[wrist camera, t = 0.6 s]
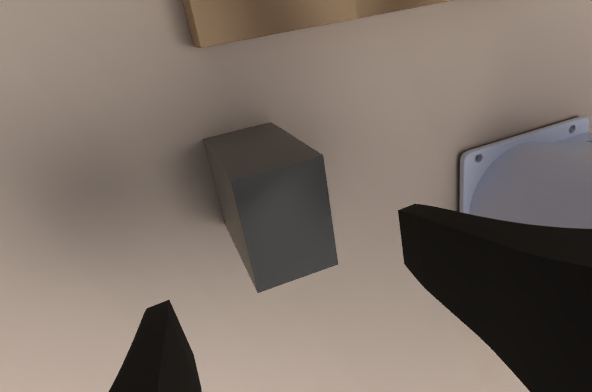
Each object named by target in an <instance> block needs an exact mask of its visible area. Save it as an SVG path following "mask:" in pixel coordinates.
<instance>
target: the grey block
mask: <svg viewBox="0 0 592 392" xmlns="http://www.w3.org/2000/svg"><path fill="white" fill-rule="evenodd" d="M203 141H204V145H205V149H206V152H207V156H208V160H209V164H210V168H211V171H212V175H213V179H214V183H215V187H216V191H217V194H218V198H219V202H220V206H221V210H222V213H223V217H224V221H225V225H226V227H227V229H228V231H229V233H230V236H231V238H232V240H233V242H234V244H235V246H236V248H237V250H238V252H239V254H240V257H241V259H242V261H243V263H244V265H245V267H246V269H247V271H248V273H249V276H250V278H251V280H252V282H253V284H254V286H255V288H256V290H257V292H258V293H259V292H262V291H265V290H267V289H270V288H273V287H276V286H279V285H281V284H284V283H287V282H290V281H293V280H295V279H298V278H301V277H304V276H307V275H309V274H312V273H315V272H318V271H321V270H323V269H326V268H329V267H332V266H335V265H337V264H338V260H337V253H336V246H335V239H334V231H333V224H332V217H331V210H330V203H329V195H328V188H327V181H326V174H325V166H324V159H323V155H322V154H320V153H319V152H317V151H315V150H314V149H312V148H311V147H309V146H308V145H306V144H304V143H303V142H301V141H300V140H298V139H297V138H295V137H293V136H292V135H290V134H289V133H287V132H286V131H284V130H282V129H281V128H279V127H278V126H276V125H274V124H273V123H271V122H270V123H266V124H262V125H258V126H254V127H250V128H246V129H242V130H238V131H234V132H230V133H226V134H222V135H218V136H214V137H210V138H206V139H203Z"/></svg>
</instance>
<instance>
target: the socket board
mask: <svg viewBox="0 0 592 392" xmlns="http://www.w3.org/2000/svg"><path fill="white" fill-rule="evenodd" d="M446 1H452V0H183V3H184V7H185V11H186V15H187V19H188V23H189V28H190V32H191V36H192V40H193V44H194V47H199V48H203V47H209V46H214V45H219V44H224V43H230V42H235V41H240V40H246V39H251V38H256V37H261V36H267V35H272V34H277V33H283V32H288V31H293V30H298V29H304V28H309V27H314V26H320V25H325V24H330V23H335V22H341V21H346V20H351V19H357V18H362V17H367V16H372V15H378V14H383V13H388V12H394V11H399V10H404V9H409V8H415V7H420V6H425V5H431V4H436V3H441V2H446Z"/></svg>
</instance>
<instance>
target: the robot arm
mask: <svg viewBox="0 0 592 392" xmlns="http://www.w3.org/2000/svg"><path fill="white" fill-rule="evenodd" d="M589 126H590V120H589V118H588V117H584V116H579V117H576V118H573V119H570V120H566V121H563V122H560V123H556V124H553V125H550V126H547V127H543V128H540V129H537V130H534V131H530V132H527V133H524V134H520V135H517V136H514V137H511V138H507V139H504V140H501V141H497V142H494V143H491V144H488V145H484V146H481V147H478V148H474V149H471V150H468V151H466V152H464V153H463V154H462V156H461V159H460V212H457V211H452V210H447V209H443V208H438V207H433V206H427V205H420V204H413V205H411V206H408V207H406V208H403V209H401V210H398V214H399V222H400V231H401V239H402V247H403V256H404V264H405V265H406V266H407V268H408V269H409V270H410V271H411V273H412V274H413V275H414V276H415V277H416V279H417V280H418V281H419V282H420V283H421V284H422V285H423V287H424V288H425V289H426V290H428V291H429V292H430V293H431V294H432V295H433V296H434V297H435V298H436V299H437V300H439V301H440V302H441V303H442V304H443V305H444V306H445V307H446V308H447V309H449V310H450V311H451V312H452V313H453V314H454V315H455V316H457V317H458V318H459V319H460V320H461V321H462V322H463V323H464V324H466V325H467V326H468V327H469V328H470V329H471V330H472V331H473V332H475V333H476V334H477V335H478V336H479V337H480V338H481V339H482V340H483V341H484V342H485V343H486V344H487V345H488V346H489V347H490V348H491V349H492V350H493V351H494V352H495V353H496V354H497V355H498V356H499V357H500V358H501V360H502V361H503V362H504V363H505V364H506V365H507V366H508V367H509V368H510V369H511V370H512V371H513V373H514V374H515V375H516V376H517V377H518V378H519V379H520V381H521V382H522V383H523V384H524V385H525V386H526V387H527V389H528V390H529V391H530V392H592V133H589ZM477 155H478V156H477ZM476 156H477V158H476V160H475V157H476ZM109 392H201V385H200V381H199V376H198V372H197V367H196V363H195V359H194V355H193V352H192V350H191V348H190V345H189V343H188V341H187V339H186V336H185V334H184V332H183V330H182V327H181V325H180V323H179V321H178V318H177V316H176V314H175V312H174V309H173V307H172V305H171V303H170V300H167V301H165V302H162V303H160V304H157V305H155V306H152V307H149V308H147V309H146V311H145V313H144V315H143V318H142V320H141V323H140V325H139V328H138V330H137V333H136V335H135V337H134V340H133V342H132V345H131V347H130V349H129V351H128V354H127V356H126V358H125V360H124V362H123V365H122V367H121V369H120V371H119V373H118V375H117V377H116V379H115V381H114V383H113V385H112V387H111V389H110V390H109Z"/></svg>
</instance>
